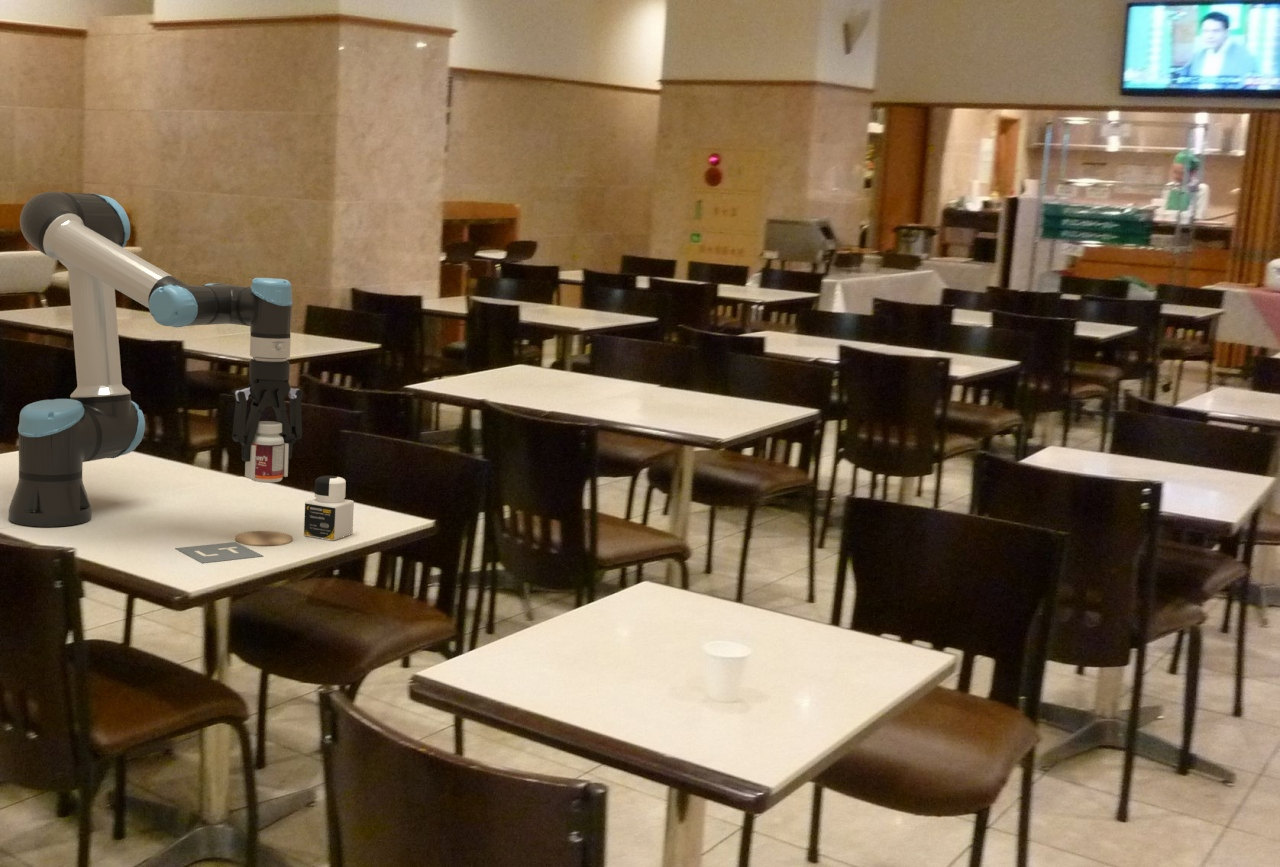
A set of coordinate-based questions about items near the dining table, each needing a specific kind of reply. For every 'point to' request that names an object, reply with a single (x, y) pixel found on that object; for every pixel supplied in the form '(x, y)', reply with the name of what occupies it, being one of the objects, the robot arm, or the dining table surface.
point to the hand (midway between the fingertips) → (266, 476)
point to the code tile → (219, 552)
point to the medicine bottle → (329, 510)
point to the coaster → (263, 538)
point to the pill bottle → (268, 452)
